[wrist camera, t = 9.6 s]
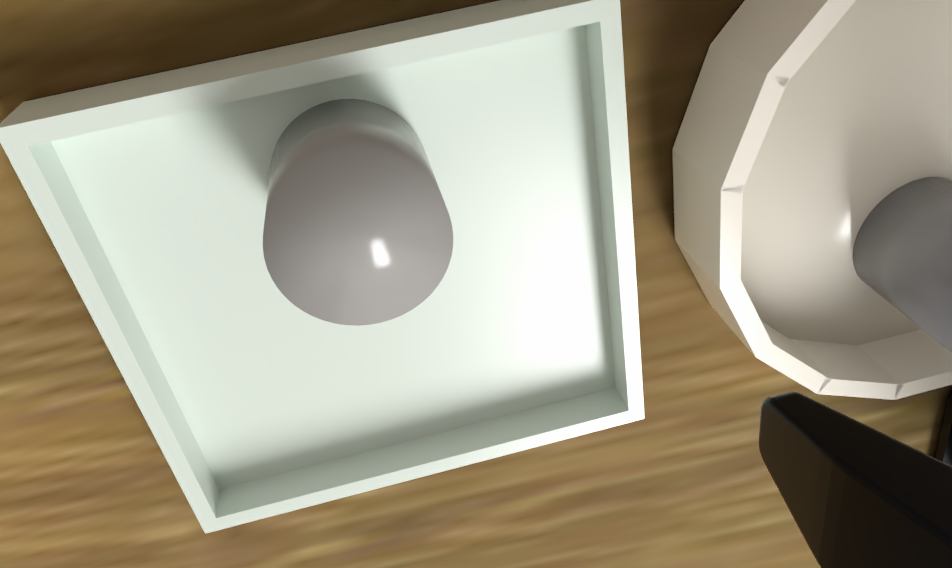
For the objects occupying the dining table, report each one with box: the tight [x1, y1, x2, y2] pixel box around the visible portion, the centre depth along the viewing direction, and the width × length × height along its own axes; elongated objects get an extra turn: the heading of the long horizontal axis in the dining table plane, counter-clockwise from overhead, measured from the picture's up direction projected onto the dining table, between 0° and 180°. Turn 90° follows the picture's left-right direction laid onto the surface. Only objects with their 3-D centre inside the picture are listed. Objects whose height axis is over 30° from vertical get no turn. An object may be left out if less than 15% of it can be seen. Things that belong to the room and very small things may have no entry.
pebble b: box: [263, 99, 453, 326], centre depth 18 cm, size 4×4×4 cm
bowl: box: [672, 0, 952, 400], centre depth 22 cm, size 15×15×3 cm
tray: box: [0, 0, 645, 534], centre depth 21 cm, size 13×14×2 cm
